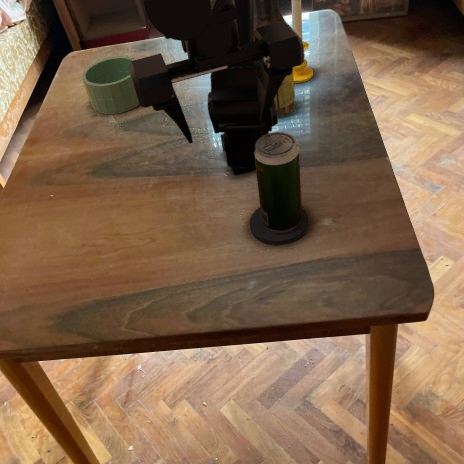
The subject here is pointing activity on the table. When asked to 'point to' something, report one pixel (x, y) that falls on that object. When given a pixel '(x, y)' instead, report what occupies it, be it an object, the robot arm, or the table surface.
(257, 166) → the beer can
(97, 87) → the pot
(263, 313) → the table surface
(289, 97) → the sauce bottle
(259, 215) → the black coaster
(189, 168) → the table surface
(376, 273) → the table surface
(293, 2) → the candle
